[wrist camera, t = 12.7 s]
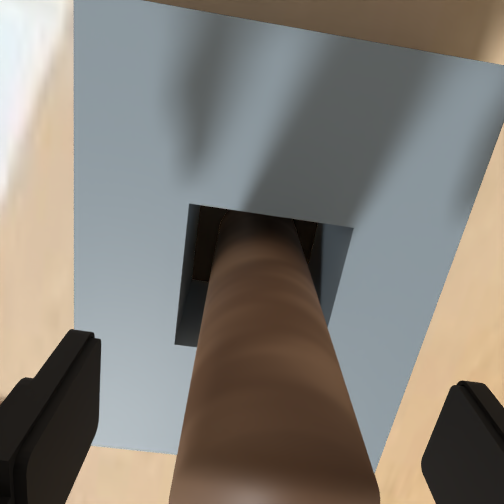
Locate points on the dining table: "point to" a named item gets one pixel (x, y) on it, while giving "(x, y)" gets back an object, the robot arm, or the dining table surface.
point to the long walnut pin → (267, 383)
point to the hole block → (264, 192)
